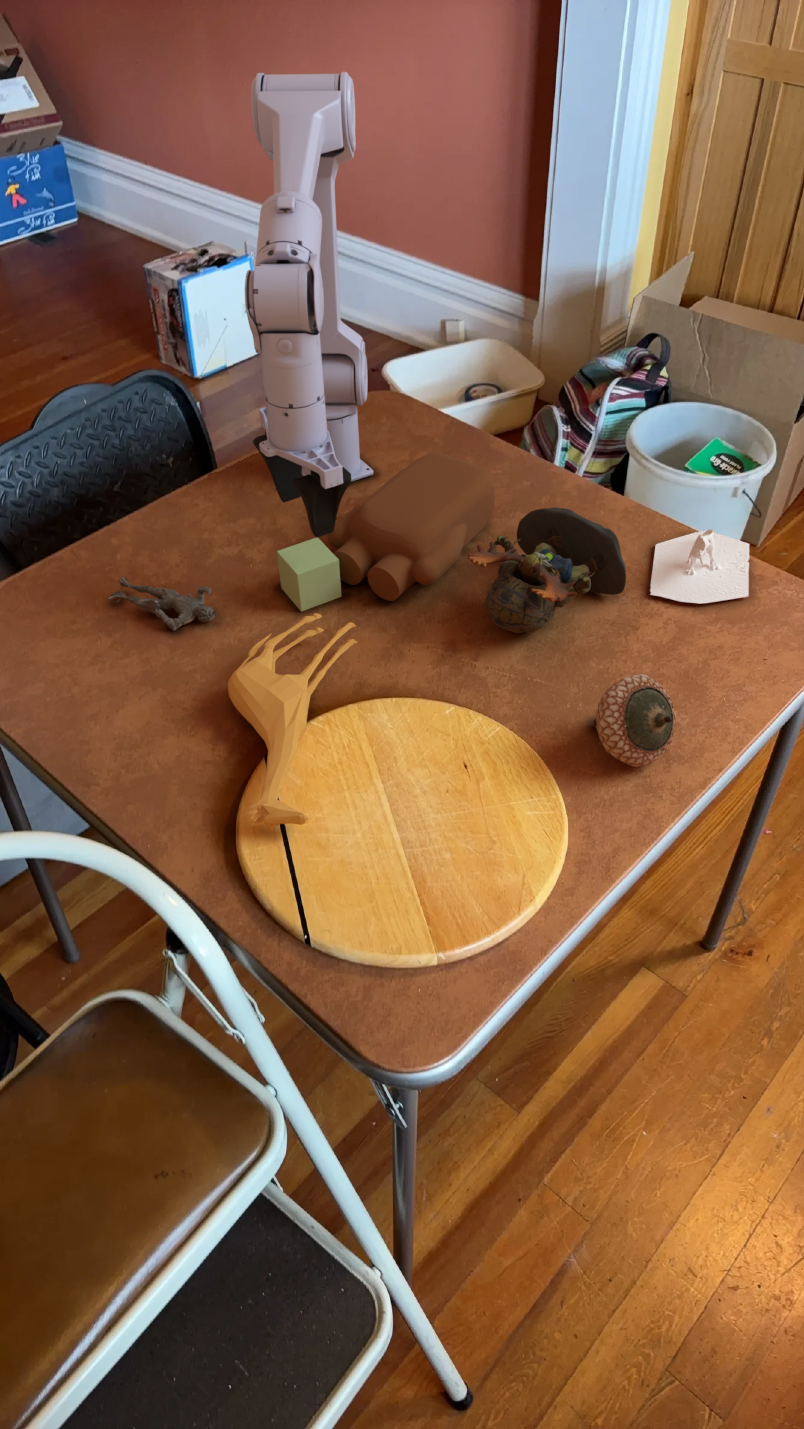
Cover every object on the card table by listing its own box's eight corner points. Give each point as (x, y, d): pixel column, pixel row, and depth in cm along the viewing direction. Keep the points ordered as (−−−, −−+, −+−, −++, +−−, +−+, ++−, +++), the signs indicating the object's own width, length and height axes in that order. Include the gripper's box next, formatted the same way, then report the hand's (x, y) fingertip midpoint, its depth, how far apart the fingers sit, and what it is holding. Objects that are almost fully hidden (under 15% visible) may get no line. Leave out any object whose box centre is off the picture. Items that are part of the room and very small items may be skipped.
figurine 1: (123, 558, 108) (216, 575, 104) (139, 580, 111) (229, 597, 107) (96, 602, 106) (190, 621, 101) (113, 624, 109) (204, 643, 105)
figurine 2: (652, 534, 104) (568, 593, 92) (626, 610, 110) (544, 674, 98) (541, 485, 110) (448, 533, 98) (522, 559, 116) (433, 614, 104)
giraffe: (426, 640, 96) (288, 823, 81) (426, 673, 99) (294, 855, 84) (283, 594, 102) (129, 757, 86) (288, 627, 105) (140, 790, 89)
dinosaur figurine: (673, 543, 119) (678, 491, 116) (775, 562, 113) (784, 509, 110) (622, 593, 109) (626, 538, 106) (731, 617, 103) (740, 560, 100)
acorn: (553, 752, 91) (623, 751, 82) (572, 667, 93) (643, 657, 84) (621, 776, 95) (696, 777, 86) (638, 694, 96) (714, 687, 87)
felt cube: (281, 588, 110) (276, 550, 106) (321, 573, 112) (317, 536, 108) (301, 612, 107) (296, 574, 103) (341, 596, 109) (339, 559, 105)
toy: (420, 623, 107) (517, 528, 117) (418, 566, 101) (519, 472, 112) (315, 577, 113) (416, 491, 124) (307, 521, 107) (413, 436, 118)
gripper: (225, 375, 98) (243, 494, 107) (290, 438, 89) (303, 562, 98) (289, 357, 100) (301, 476, 110) (359, 417, 91) (365, 540, 101)
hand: (306, 515), depth 104 cm, fingers open, 7 cm apart
